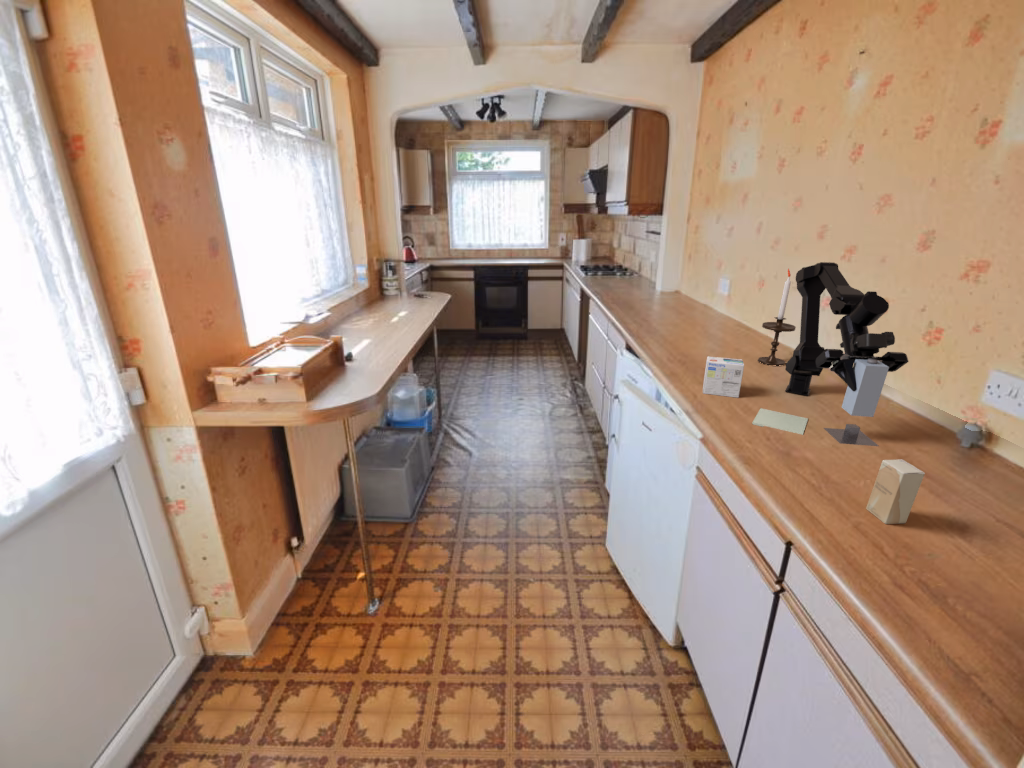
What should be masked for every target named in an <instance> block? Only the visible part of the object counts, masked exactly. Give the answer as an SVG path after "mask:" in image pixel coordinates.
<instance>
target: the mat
mask: <svg viewBox="0 0 1024 768" xmlns="http://www.w3.org/2000/svg"><path fill="white" fill-rule="evenodd" d="M808 420H809V418H807V417H804V416H798V415H793V414H788V413H784V412H779V411H775V410H770V409H766V408H762V407H760V409H759V410H758V412H757V413H756V416H755V417H754V419H753V421H752V422H751V424H752V425H754V426H758V427H763V428H765V427H767V428H772V429H777V430H781V431H784V432H785V431H786V432H789V433H792V434H793V433H794V434H798V435H802V436H804V432H805V429H806V426H807V425H808Z"/></svg>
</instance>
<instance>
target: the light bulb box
mask: <svg viewBox="0 0 1024 768" xmlns="http://www.w3.org/2000/svg"><path fill="white" fill-rule="evenodd" d="M744 368H745V363H744V361H743V359H739V358H729V357H720V356H719V357H717V356H716V357H715V356H708V355H707V357H706V362H705V370H704V376H703V383H702V384H703V385H702V394H703V395H704V394H706V395H712V396H721V397H730V398H740V393H741V385H742V380H743V375H744Z"/></svg>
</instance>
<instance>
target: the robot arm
mask: <svg viewBox="0 0 1024 768" xmlns="http://www.w3.org/2000/svg"><path fill="white" fill-rule="evenodd" d="M795 282H796V289H797V291H798V293H799V294H800V297H801V312H800V314H801V316H800V332H799V334H800V335H799V336H800V337H799V343H798V344H797V346H796V347H795V348H794V350H793V351H792V352H793V353H792V356H791V357H790V359H788V361H787V362H785V371H786V372H787V373H788V374H790V378H789V383H788V385H787V386H786V388H785V392H786V393H791V394H794V395H800V396H806V397H808V396H810V393H811V388H810V386H811V382H812V378H813V376H815V377H816V376H817V377H820V376H821V374H822V371H823V369H830V372H834V373H835V374H836V375H837V376H838V377H839V378H840V379H841V380H842V381H843V382H844V383H845V384H846V385H847V387H848V386H849V387H850V388H851V390H852V391H856V390H857V385H856V380H855V376H854V371H853V366H854V362H855V359H862V360H868V359H876V360H878V361H880V362H881V363H883V364H885V365H887V366H888V367H889V369H888V372H889V373H894V372H896V371H897V370H900V369H901V368H902V367H904V365H906V364H908V363H909V358H908V355H907V353H904V352H901V351H900V352H899V351H887V352H886V353H884V354H883V355H882V356H875V355H874V354H878V353H880V349H883V348H884V349H886V348H888V347H889V346H892V345H894V344H895V343H896V337H895V335H894V332H893V331H884V332H881V333H874V332H873V333H872V332H869V328H868V327H869V326H871V325H874V324H875V323H876V322H877V321H878V320H879V319H880V318H881V317H882V316H883V315H885V313H887V312H888V310H889V308H890V305H889V302H888V301H887V299H885V298H884V297H882V296H881V295H878V292H877V291H869V290H868V291H866V293H863V291H861V290H859V289H857V288H854V287H852V286H851V285H850V284H849V283H848V281H847V279H846V278H845V276H844V275H843V274H842V272H841V271H840V270H839V264H838V263H835V262H830V261H829V262H825V261H824V262H817V263H816V264H813V265H809V266H803V267H802V268H800V270H798V271H797V272H796V274H795ZM825 290H826V292H827V293H828V294H829V296H830V298H831V299H830V301H829V304H828V305H829V308H830V310H831V312H832V314H833V315H836V316H837V315H838V316H840V315H841V316H843V317H841V318H840V319H839V321H838V323H837V324H836V325H835V329H836V330H839V331H840V335H841V340H842V342H841V343H840V344H839V346H840V348H843V350H844V351H843V350H842V349H839V348H836V349H835V348H825V347H823V346H821V345H820V343H819V332H820V331H819V330H820V329H819V327H820V313H821V310H820V309H821V295H822V294H823V293H824V292H825ZM831 366H832V367H831ZM888 372H887V373H888Z"/></svg>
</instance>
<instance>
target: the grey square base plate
mask: <svg viewBox="0 0 1024 768" xmlns="http://www.w3.org/2000/svg"><path fill="white" fill-rule="evenodd" d="M823 429H824V431H826V432H827V433H828V434H829V435H830V436H831V437H832V438H834V440H836V442H838V444H843V445H853V446H854V445H856V446H857V445H858V446H868V447H869V446H870V447H880V446H879V445H878V443H876V442H875V441H874V440H872V439H871V438H870V437H869V436H868V435H866V434H865V433H864V432H863V431H862V430H861V428H860V426H858V425H857V424H853V423H846V424H845V428H832V427H831V428H830V427H823Z"/></svg>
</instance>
